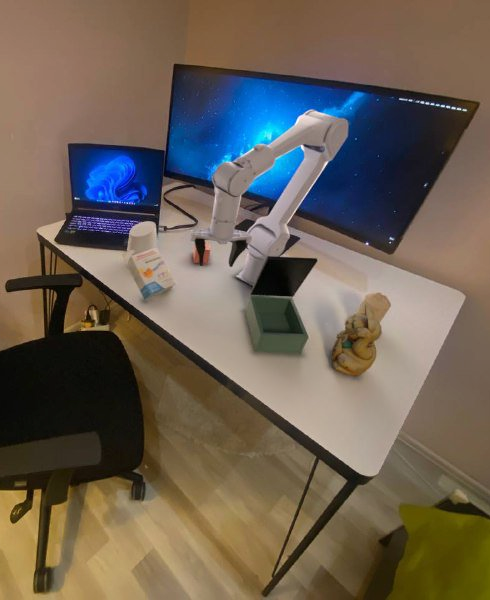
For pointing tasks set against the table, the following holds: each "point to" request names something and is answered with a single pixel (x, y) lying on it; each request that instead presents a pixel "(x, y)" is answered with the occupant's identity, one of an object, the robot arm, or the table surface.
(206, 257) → the red block
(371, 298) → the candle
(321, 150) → the robot arm
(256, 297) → the green open box
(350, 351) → the decorative figurine
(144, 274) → the ink box
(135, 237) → the smart speaker
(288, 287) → the black square lid
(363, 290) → the table surface
